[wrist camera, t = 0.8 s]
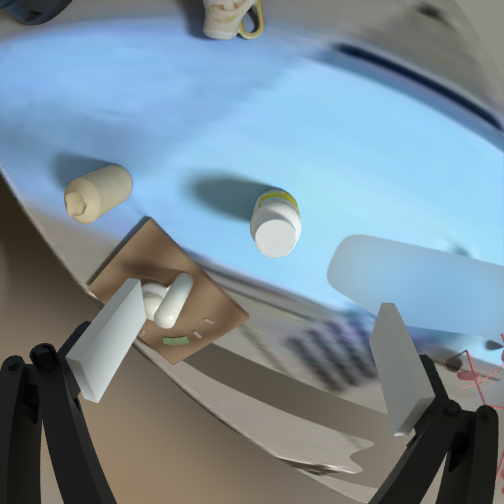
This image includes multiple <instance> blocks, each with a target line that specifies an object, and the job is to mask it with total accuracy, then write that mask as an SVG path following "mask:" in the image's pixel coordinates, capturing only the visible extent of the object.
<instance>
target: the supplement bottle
mask: <svg viewBox="0 0 504 504" xmlns="http://www.w3.org/2000/svg"><path fill="white" fill-rule="evenodd" d="M250 232H251V236H252V238H253V240H254V241H255V243H256V246H257V248H258V249H259V251H260V252H262V253H263V254H264V255H266V256H269V257H274V258H277V257H282V256H285V255H287V254H288V253H289V252H291V251H292V249H293V248H294V246H295V243H296V242H297V241H298V239H299V237H300V234H301V220H300V215H299V210H298V205H297V202H296V200H295V199H294V197H293V196H292V195H291V194H290V193H288V192H287V191H285V190H282V189H270V190H267V191H265V192H263V193H262V194H261V195H260V196H259V197H258V199H257V201H256V203H255V206H254V210H253V214H252V218H251V222H250Z"/></svg>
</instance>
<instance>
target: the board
mask: <svg viewBox="0 0 504 504" xmlns="http://www.w3.org/2000/svg"><path fill="white" fill-rule="evenodd" d="M180 273H187V274H189V275H190V276H191V277H192V278H193V280H194V284H193V286H192V288H191V290H190V292H189V295H188V297H187V299H186V301H185V303H184V305H183V307H182V309H181V311H180V313H179V315H178V317H177V319H176V321H175V324H174V326H173V327H171V328H168V329H166V328H162V327H160V326H159V325H157V324H156V322H155V321H152V320H149V319H147V318H146V321H145V322H144V324H143V326H142V327H141V329H140V331H139V332H138V334H137V335H138V336H139V337H140V338H141V339H142V340H143V341H145V342H146V343H147V344H148V345H149V346H150V347H152V348H153V349H154V350H155V351H156V352H158V353H159V354H160V355H161V356H162V357H164V358H165V359H166V360H167V361H169V362H170V363H171V364H172V365H175V364H176V363H178V362H180V361H181V360H183V359H185V358H186V357H188V356H190V355H191V354H193V353H195V352H196V351H198V350H200V349H201V348H203V347H205V346H206V345H208V344H209V343H211V342H213V341H214V340H216V339H218V338H219V337H221V336H222V335H224V334H226V333H227V332H229V331H230V330H232V329H234V328H235V327H237V326H238V325H240V324H242V323H243V322H245V321H246V320H248V319H249V314H248V313H246V312H245V311H244V310H243V309H242V308H241V307H240V306H239V305H238V304H237V303H236V302H235V301H234V300H233V299H232V298H231V297H230V296H229V295H228V294H227V293H226V292H225V291H224V290H223V289H222V288H221V287H220V286H219V285H218V284H217V283H216V282H214V281H213V280H212V279H211V278H210V277H209V276H208V275H207V274H206V273H205V272H204V271H203V270H202V269H201V268H200V267H199V266H198V265H197V264H196V263H195V262H194V261H193V260H192V259H191V258H190V257H189V256H188V255H187V254H186V253H185V251H184V250H183V249H182V248H181V247H180V246H179V245H178V244H177V243H176V242H175V241H174V240H173V239H172V238H171V237H170V236H169V235H168V234H167V233H166V232H165V231H164V230H163V229H162V228H161V227H160V226H159V225H158V224H157V223H156V222H155V220H154V219H153V218H152V217H151V218H150V219H149V220H148V221H147V222H146V223H145V224H144V225H143V226H142V227H141V228H140V229H139V230H138V231H137V233H136V234H135V235H134V236H133V237H132V238H131V239H130V240H129V241H128V242H127V243H126V245H125V246H124V247H123V248H122V249H121V250H120V251H119V252H118V254H117V255H116V256H115V257H114V258H113V259H112V260H111V261H110V263H109V264H108V265H107V266H106V267H105V268H104V270H103V271H102V272H101V273H100V274H99V275H98V277H97V278H96V279H95V280H94V281H93V283H92V284H91V285H90V286H89V287H88V289H89V290H90V291H91V292H92V293H93V294H94V295H95V296H96V297H97V298H98V299H99V300H100V301H101V302H102V303H103V304H104V305H106V304H107V303H108V301H109V300H110V299H111V298H112V297H113V295H114V294H115V293H116V292H117V291H118V289H119V288H120V287H121V286H122V285H123V283H124V282H125V281H126V280H127V279H128V278H131V279H139V280H140V282H141V287H142V286H143V285H144V284H145V283H148V282H158V283H161V284H163V285H165V286H166V287H168V286H169V285H171V284H172V283H173V282H174V280H175V278H176V277H177V275H178V274H180Z"/></svg>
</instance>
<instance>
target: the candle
mask: <svg viewBox="0 0 504 504" xmlns="http://www.w3.org/2000/svg"><path fill="white" fill-rule="evenodd" d="M131 191H132V178H131V176H130V174H129V172H128V171H127V170H126V169H125V168H124V167H122V166H120V165H109V166H106V167H103V168H101V169H98V170H96V171H93V172H91V173H88V174H86V175H83V176H81V177H78V178H76V179H74V180H72V181H71V182H70V183H69V184H68V185H67V187H66V189H65V193H64V202H65V206H66V209H67V212H68V214H69V215H70V216H71V217H72V218H73V219H74V220H75V221H77V222H79V223H82V224H89V223H92V222H93V221H95V220H96V219H98V218H99V217H101V216H102V215H104V214H105V213H107V212H108V211H110V210H111V209H113V208H114V207H116V206H117V205H119V204H121V203H122V202H124V201H125V200H126V199H127V198H128V197H129V195H130V194H131Z"/></svg>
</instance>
